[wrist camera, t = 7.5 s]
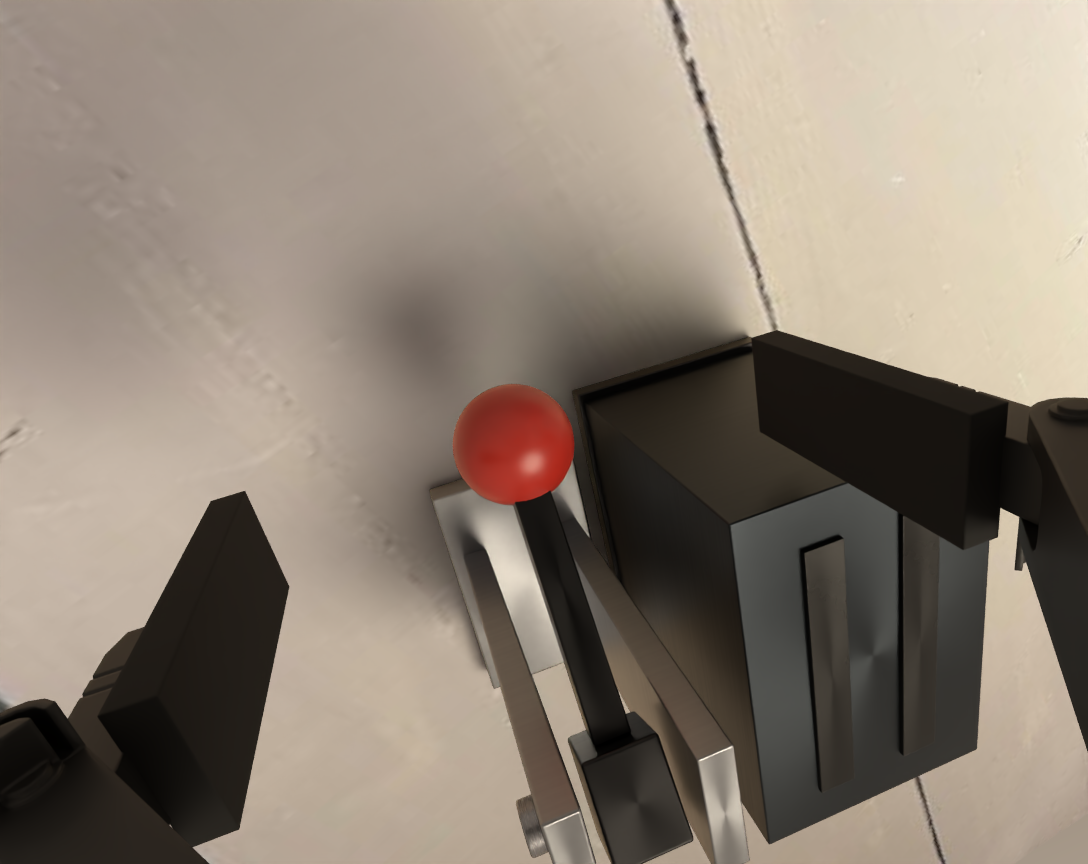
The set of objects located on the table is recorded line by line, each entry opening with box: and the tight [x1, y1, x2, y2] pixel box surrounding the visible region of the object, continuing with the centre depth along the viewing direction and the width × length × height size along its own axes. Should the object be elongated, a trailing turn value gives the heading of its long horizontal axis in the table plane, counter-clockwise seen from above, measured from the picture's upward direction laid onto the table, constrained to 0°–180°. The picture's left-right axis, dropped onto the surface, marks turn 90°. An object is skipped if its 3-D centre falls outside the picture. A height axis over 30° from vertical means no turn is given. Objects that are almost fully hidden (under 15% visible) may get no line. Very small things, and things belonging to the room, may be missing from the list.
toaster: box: [572, 337, 989, 844], centre depth 24 cm, size 13×8×12 cm
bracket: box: [430, 458, 750, 864], centre depth 22 cm, size 10×6×14 cm, turn 13°
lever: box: [453, 384, 693, 864], centre depth 18 cm, size 13×4×4 cm
